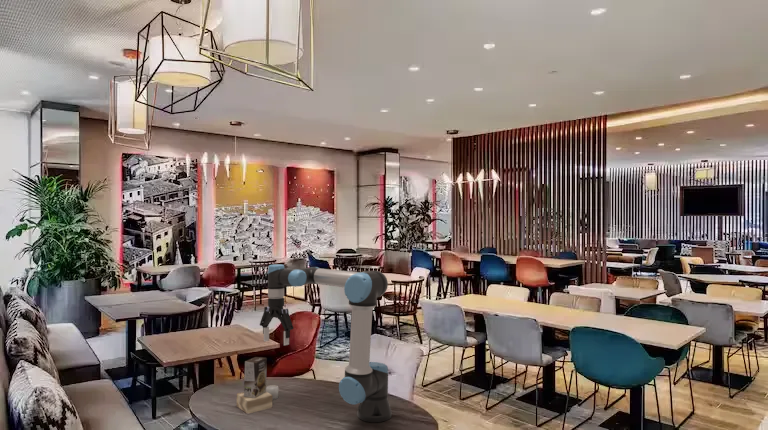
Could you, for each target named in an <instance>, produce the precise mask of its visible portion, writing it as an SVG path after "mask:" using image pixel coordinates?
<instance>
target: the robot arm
mask: <svg viewBox="0 0 768 430" xmlns="http://www.w3.org/2000/svg"><path fill="white" fill-rule="evenodd" d="M307 284H308V285H309V284H311V285H313V284H314V285H323V286H332V287H336V288H337V287H339V288H343V291H344V295H345V296H346V299H347V300H348V305H349V306H350V307H351V319H350V320H351V321H350V323H351V324H350V339H349V340H350V341H349V358H348V365H346V367H345V368H344V377H342V379H341V380H340V381H339V383H338V392H339V395H340V397H341V398H342V399H343V401H344V402H346V403H347V404H350V405H353V406H354V405H358V404H359V405H358V408H357V414H356V415H357V418H358V419H359V420H362V421H363V422H368V423H382V422H385V421H388V420H390V419H391V418H392V415H393V414H392V411H393V410H392V408H391V405H390V402H389V395H388V393H389V368H388V365H387V364H385V363H383V362H377V361H370V360H371V358H370V357H371V342H372V340H371V339H372V324H373V323H372V322H373V321H372V320H373V309H374V308H375V307H377V302H378V301H377V300H378V298H380V297H382V296H383V295H385V293H386V292H387V289H388V287H389V285H388V284H389V283H388V278H387V276H386V275H385V274H384V273H383V272H381V271H380V270H379V271H378V270H364V271H362V272H360V271H350V270H349V271H348V270H340V269H329V268H320V267H318V266H311V267H306V268H305V267H304V268H293V269H289V268H288V269H287V268H285V264H277V263H276V264H275V263H274V264H270V265H268V268H267V297H268V298H267V306H264V309H263V314H262V316H261V318H260V321H259V326H261V327H262V334H263V342H269V341H270V324H271V322H272V321H273V319H274V318H275V319H277V320H279V321H280V324H281V325H282V327H283V346H288V345H290V337H291V330H293V329H294V326H293V322H292V319H291V317H290V314H289V313H290V312H289V309H288V308H284V306H285V298H284V297H285V286H288V287H289V286H290V287H295V288H296V287H302V286H304V285H307Z"/></svg>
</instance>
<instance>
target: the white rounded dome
mask: <svg viewBox="0 0 768 430" xmlns="http://www.w3.org/2000/svg"><path fill="white" fill-rule="evenodd" d="M266 392H268V393H269V394H271V395H272V401H273V400H276V399H279V386H278V385H275V384H271V385H270V384H269V385H266Z"/></svg>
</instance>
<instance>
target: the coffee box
mask: <svg viewBox="0 0 768 430" xmlns="http://www.w3.org/2000/svg"><path fill="white" fill-rule="evenodd" d="M267 363H268V358H267V357H263V356H254V357H252V358H249V359H247V360H245V361H244V378H243V379H244V380H243V385H244V386H243V392H244V397H250V398H256V397H258V396H260V395H262V394H264V393H265V392H266V387H267V368H268V367H267V365H268V364H267Z"/></svg>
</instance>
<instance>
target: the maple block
mask: <svg viewBox="0 0 768 430" xmlns="http://www.w3.org/2000/svg"><path fill="white" fill-rule="evenodd" d="M236 408H239V409H240V410H241V411H243V412H244V413H246V414H248V415H250V414H252V413H253V414H254V413H257V412H261V411H264V410H269V409H272V408H273V400H272V395H271V394H269V393H268V392H265V393H264V394H262V395H260V396H258V397H256V398H250V397H244V391H242V392H238V393H236Z"/></svg>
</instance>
